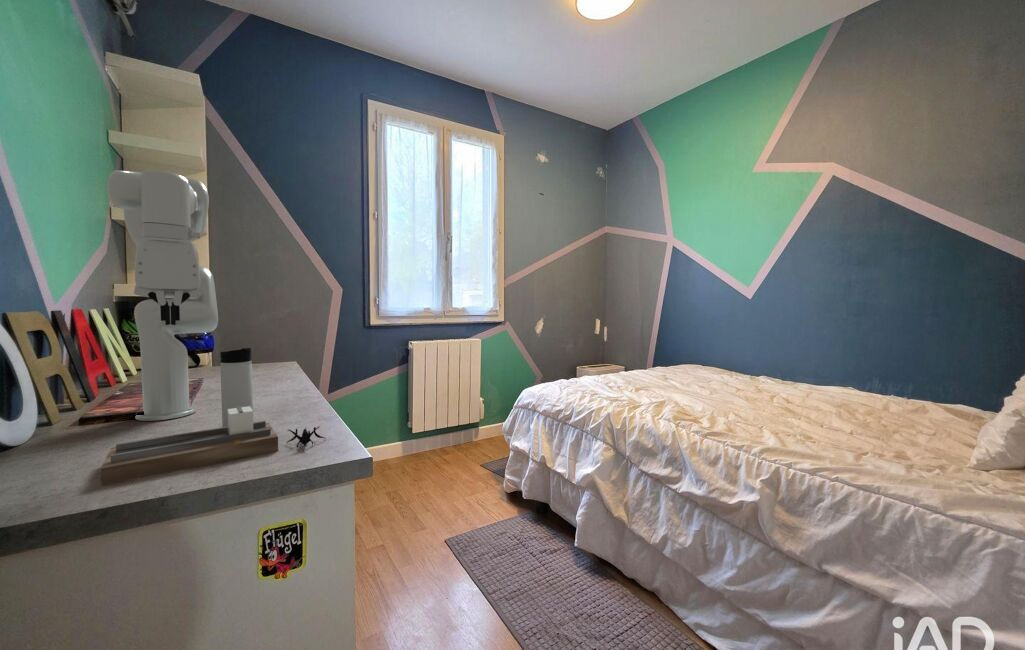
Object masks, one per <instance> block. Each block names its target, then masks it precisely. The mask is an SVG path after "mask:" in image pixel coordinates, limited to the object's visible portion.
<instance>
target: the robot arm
mask: <svg viewBox="0 0 1025 650" xmlns="http://www.w3.org/2000/svg"><path fill="white" fill-rule="evenodd" d="M106 183H107V184H106V185H107V186H106V187H107V188H106V190H107V194H108V198H109V200H110V202H111V203H112V204H113V206H115V208H118V209H122V210H123V218H124V219H123V220H124V223H125V226H126V228H127V232H128V234H129V236H130V238H131V240H132V241H133V243H134V245H135V246H136V248H135V249H136V250H135V258H134V282H135V287H134V290H133V294H134V295H136V296H140V297H145V298H149V299H145V300H142V301H140V302H138V303H137V304H136V306H135V307H134V310H133V315H134V322H135V325H136V329H137V333H138V339H139V340H138V341H139V348H140V350H139V351H140V366H141V367H140V368H141V388H142V389H141V392H142V393H141V394H142V411H144V415H136V414H135V415H136V416H135V418H134V419H135V420H137V421H142V422H153V421H154V422H155V421H164V420H170V419H171V420H172V419H177V418H178V419H179V418H182V417H186V416H190V415H192V414H194V413H196V412H197V406H196V405H193V404H192V405H191V404H190V390H189V389H190V388H189V386H190V385H189V384H190V383H189V362H188V361H189V360H188V358H189V356H188V349H187V347H186V346H185V345H184V343H183V342H182V341H180V340H179V339H177V338H176V337H175V335H179V334H180V335H181V334H200V333H202V334H204V333H210V332H213V331H214V330H216V329H217V327H218V324H219V311H218V302H217V295H216V285H215V280H214V275H213V273H212V271H211V270H210V269H209V268H208V267H204V266H201V265H200V259H199V253H198V248H197V245H196V244H195V243H192V241H193V240H195V239H199V240H200V238H201V237H200V235H202V234H204V232H205V230H206V227H207V219H208V213H209V205H210V196H209V192H208V189H207V187H206V185H205V184H204V183H203V182H202V181H200V180H198V179H194V178H190V177H185V176H183V175H181V174H179V173H176V172H171V171H166V170H165V171H164V170H161V169H160V170H159V169H147V170H144V171H143V172H142V171H128V170H120V169H119V170H117V169H115V170H113V171H111V173H110V174H109V176H108V179H107V182H106Z"/></svg>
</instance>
